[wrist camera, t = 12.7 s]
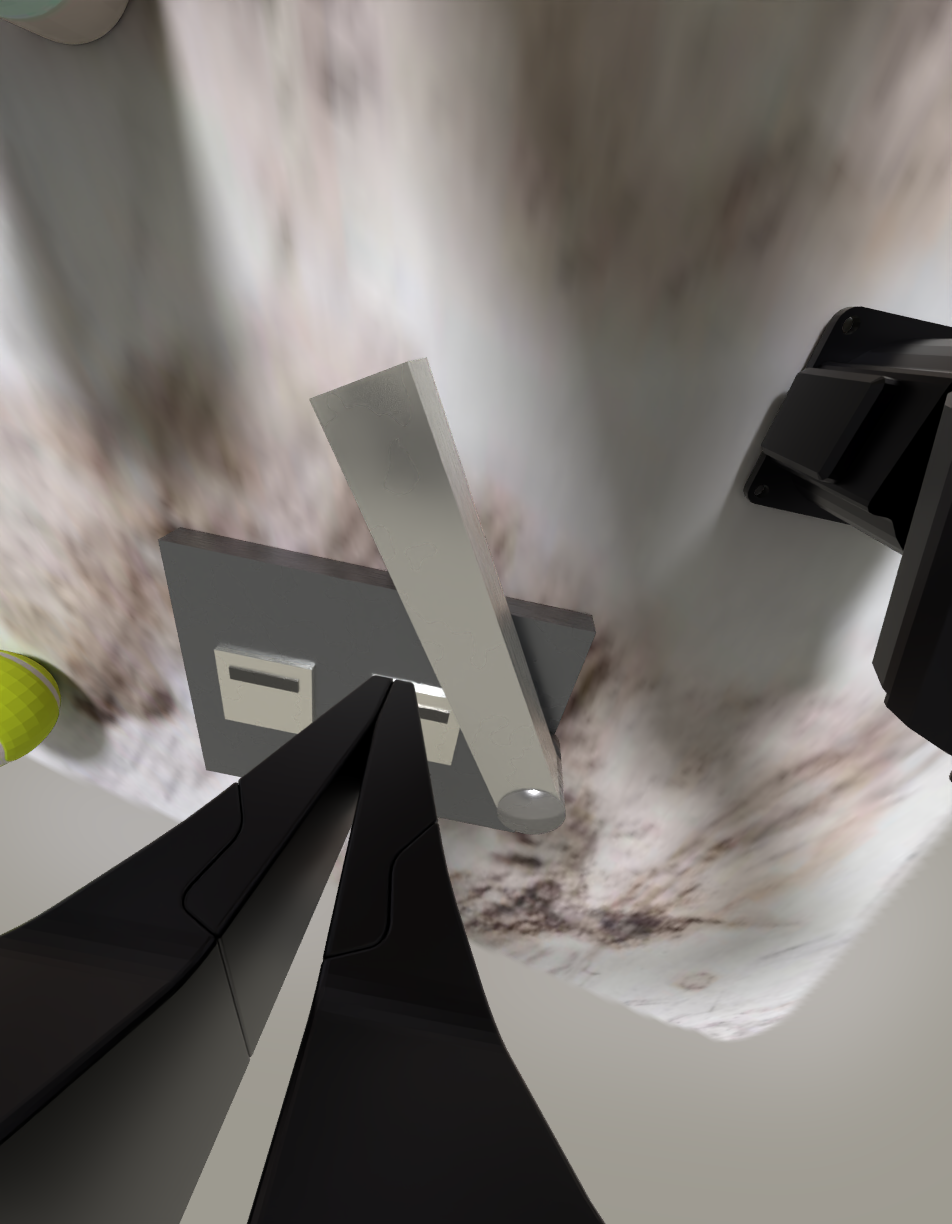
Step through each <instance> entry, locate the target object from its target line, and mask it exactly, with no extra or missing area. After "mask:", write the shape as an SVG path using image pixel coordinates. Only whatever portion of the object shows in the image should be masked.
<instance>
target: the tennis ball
mask: <svg viewBox="0 0 952 1224" xmlns="http://www.w3.org/2000/svg"><path fill="white" fill-rule="evenodd" d="M60 705H61V695H60V691H59V688H58V685H57V683H56V681H55V679H54V678H53V676H52V675H51V674H50V673H49V672H48V671H47V670H46V669H45V668H44V667H43V666H41V665H40V664H38V663H37V662H35V661H34V660H32V659H30V658H28V657H25V656H23V655H20V654H16V653H13V652H9V651H4V650H0V766H3V765H5V764H7V763H9V762H11V761H14V760H17V759H19V758H21V757H22V756H24V755H26V754H28V753H29V752H30V751H32V750H33V749H34V748H36V747H37V746H38V745H39V744H40V743H41V742H42V741H43V740H44V739H45V738H46V737H47V735H48V734H49V733H50V732H51V730H52V729H53V727H54V726H55V724H56V722H57V719H58V716H59V709H60Z"/></svg>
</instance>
